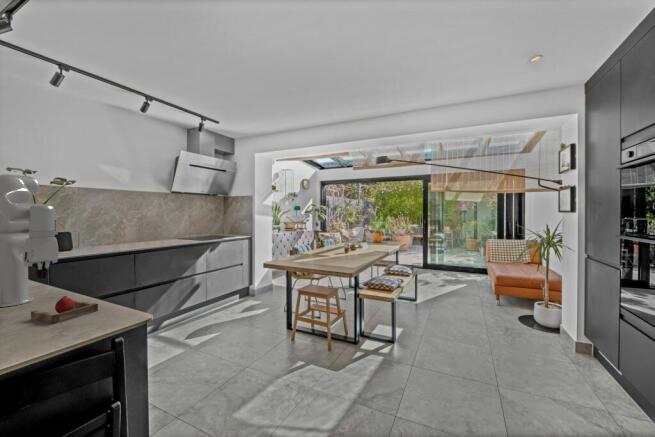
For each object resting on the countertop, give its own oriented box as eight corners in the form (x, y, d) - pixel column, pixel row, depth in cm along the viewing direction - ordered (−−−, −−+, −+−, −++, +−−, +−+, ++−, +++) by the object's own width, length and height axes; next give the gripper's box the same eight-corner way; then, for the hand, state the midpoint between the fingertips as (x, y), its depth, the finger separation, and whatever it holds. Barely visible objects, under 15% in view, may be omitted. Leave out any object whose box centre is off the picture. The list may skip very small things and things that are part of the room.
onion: (61, 318, 112) (60, 298, 112) (51, 316, 114) (51, 296, 114) (78, 313, 118) (77, 294, 118) (68, 311, 120) (68, 292, 119)
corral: (31, 319, 111) (30, 311, 111) (75, 307, 125) (75, 300, 125) (54, 323, 107) (54, 315, 107) (97, 310, 121) (97, 303, 121)
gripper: (57, 232, 128) (56, 273, 129) (12, 235, 114) (11, 281, 115) (68, 234, 126) (68, 275, 127) (24, 237, 112) (23, 283, 112)
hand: (41, 277), depth 121 cm, fingers closed
